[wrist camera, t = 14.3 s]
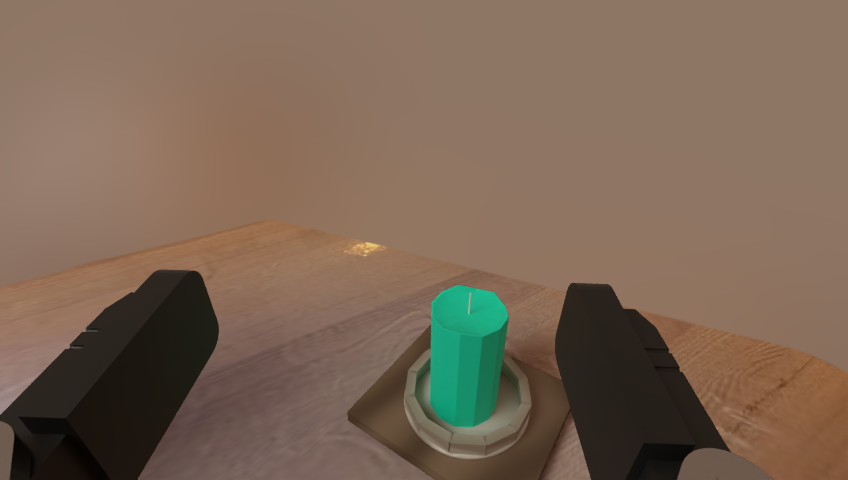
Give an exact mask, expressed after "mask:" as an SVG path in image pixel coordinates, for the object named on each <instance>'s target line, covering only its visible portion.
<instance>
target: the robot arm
mask: <svg viewBox="0 0 848 480" xmlns="http://www.w3.org/2000/svg"><path fill="white" fill-rule="evenodd" d="M218 334H219V327H218V321H217V318H216V315H215V313H214V310H213V307H212V304H211V301H210V298H209V295H208V292H207V289H206V287H205V284H204V281H203V278H202V276H201V275H200V274H199V273H198V272H197V271H187V270H157V271H155V272H154V273H153V274H152V275H151V276H150V277H149V278H148V279H147V280H146V281H145V282H144V283H143V284H142V285H141V286H140V287H139V288H138V289H137V290H136V291H135V293H133V292H131V293H129V294H128V295H126V296H125V297H123V298H122V299H120V300H118V301H117V302H115V303H114V304H112V305H110V306H109V307H107V308H106V309H104V310H103V311H102V313H101V314H100V315H99V316H98V317H97V318H96V319H95V320H94V321H93V322H92V323H91V324H90V325H89V326H88V327H87V328H86V332H82V333H81V334H80V335H79V336H78V337H77V338H76V339H75V340H74V341H73V342H72V343H71V344H70V348H69V349H65V350H64V351H63V352H62V353H61V354H60V355H59V356H58V357H57V358H56V359H55V360H54V361H53V362H52V363H51V364H50V365H49V366H48V367H47V368H46V369H45V370H44V371H43V372H42V373H41V374H40V375H39V376H38V377H37V378H36V379H35V380H34V381H33V382H32V383H31V385H30V386H29V387H28V388H27V389H26V390H25V391H24V392H23V393H22V394H21V395H20V396H19V397H18V398H17V399H16V400H15V401H14V402H13V403H12V404H11V405H10V406H9V407H8V408H7V409H6V410H5V411H4V412H3V413H2V414H1V415H0V480H137V479H138V477H139V476H140V474H141V472H142V470H143V469H144V467H145V465H146V464H147V462H148V460H149V459H150V457H151V455H152V454H153V452H154V450H155V449H156V447H157V445H158V444H159V442H160V440H161V439H162V437H163V435H164V433H165V432H166V430H167V428H168V427H169V425H170V423H171V422H172V420H173V418H174V417H175V415H176V413H177V412H178V410H179V408H180V407H181V405H182V403H183V402H184V400H185V398H186V396H187V395H188V393H189V391H190V390H191V388H192V386H193V385H194V383H195V381H196V380H197V378H198V376H199V375H200V373H201V371H202V370H203V368H204V366H205V365H206V363H207V361H208V359H209V358H210V356H211V354H212V353H213V351H214V349H215V347H216V344H217V340H218ZM555 353H556V360H557V364H558V368H559V371H560V375H561V378H562V381H563V385H564V388H565V392H566V395H567V399H568V402H569V405H570V409H571V412H572V416H573V419H574V422H575V426H576V429H577V433H578V436H579V439H580V443H581V446H582V450H583V453H584V457H585V460H586V463H587V467H588V470H589V474H590V477H591V480H774V479H773V478H772V477H770V476H769V475H768V474H767V473H766V472H765V471H763V470H762V469H761V468H759V467H758V466H756V465H755V464H753V463H752V462H750V461H748V460H747V459H745V458H743V457H741V456H739V455H737V454H734V453H731V451H730V450H729V449H728V447H727V446H726V444H725V442H724V441H723V439H722V437H721V436H720V434H719V432H718V431H717V429H716V427H715V426H714V424H713V422H712V421H711V419H710V417H709V416H708V414H707V412H706V411H705V409H704V407H703V406H702V404H701V402H700V401H699V399H698V397H697V396H696V394H695V392H694V390H693V389H692V387H691V385H690V384H689V382H688V380H687V379H686V377H685V375H684V374H683V372H680V370H679V368H680V367H679V365H678V364H677V362H676V360H675V359H674V357H673V355H672V354H671V353H669V349H668V347H667V345H666V344H665V342H664V340H663V339H662V337H661V335H660V334H659V332H658V330H657V328H656V327H655V326H654V325H652V324H651V323H650V322H649V321H648V320H647V319H646V318H644V317H643V316H642V315H641V314H640V313H639V312H638V311H636V310H635V309H623V307H622V306H621V304H620V302H619V300H618V298H617V296H616V294H615V292H614V291H613V289H612V287H611V286H610V285H608V284H585V283H571V284H570V285H569V287H568V290H567V293H566V297H565V301H564V305H563V309H562V313H561V317H560V321H559V325H558V329H557V333H556V339H555Z"/></svg>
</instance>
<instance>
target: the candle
mask: <svg viewBox="0 0 848 480" xmlns="http://www.w3.org/2000/svg"><path fill="white" fill-rule="evenodd" d="M508 319H509V317H508V313H507V310H506V307H505V306H504V304H503V303H502V302H501V300H500V299H499V298H498V297H497V295H496V294H495V293H494V292H490V291H485V290H481V289H476V288H471V287H466V286H460V285H457V286H454V287H452V288H449V289H447V290H444V291H442V292H441V293H440V294H439V295H438V296H437V297H436V298H435V300H434V301H433V302H432V308H431V364H430V405H431V407H432V408H433V410H434V411H435V413H436V415H437V416H438V418H440V419H441V420H443V421H445V422H447V423H449V424H450V425H452V426H454V427H475V426H477V425H479V424H481V423H483V422H485V421H487V420H488V419H489V418H490V416H491V414H492V412H493V411H494V409H495V407H496V402H497V395H498V388H499V381H500V374H501V367H502V360H503V354H504V347H505V340H506V333H507V326H508Z"/></svg>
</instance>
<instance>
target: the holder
mask: <svg viewBox="0 0 848 480" xmlns="http://www.w3.org/2000/svg"><path fill="white" fill-rule="evenodd" d="M430 364H431V325H430V326H429V327H428V328H427V329H426V330H425V331H424V332H423V333H422V334H421V335H420V337H419V338H418V339H417V340H416V341H415V342H414V343H413V344H412V345H411V346H410V347H409V348H408V349H407V350H406V351H405V352H404V353H403V354H402V355H401V356H400V357H399V359H398V360H397V361H396V362H395V363H394V364H393V365H392V366H391V367H390V368H389V369H388V370H387V371H386V372H385V373H384V374H383V375H382V376H381V377H380V378H379V379H378V381H377V382H376V383H375V384H374V385H373V386H372V387H371V388H370V389H369V390H368V391H367V392H366V393H365V394H364V395H363V396H362V397H361V398H360V399H359V400H358V401H357V403H356V404H355V405H354V406H353V407H352V408H351V409H350V410H349V411H348V412H347V414H348V420H349V421H350V422H351V423H353V424H354V425H356V426H357V427H359V428H360V429H362V430H363V431H365V432H366V433H367V434H369V435H370V436H372V437H373V438H375V439H376V440H378V441H379V442H381V443H382V444H384V445H385V446H387V447H388V448H389V449H391V450H392V451H394V452H395V453H397V454H398V455H400V456H401V457H403V458H404V459H406V460H407V461H409V462H410V463H411V464H413V465H414V466H416V467H417V468H419V469H420V470H422V471H423V472H425V473H426V474H428V475H429V476H431V477H432V478H433V479H435V480H539V479H540V477H541V475H542V472H543V470H544V468H545V466H546V463H547V461H548V459H549V457H550V454H551V452H552V450H553V448H554V446H555V443H556V441H557V439H558V437H559V434H560V432H561V430H562V428H563V425H564V423H565V421H566V419H567V416H568V414H569V412H570V410H571V409H570V405H569V402H568V399H567V395H566V392H565V388H564V385H563V381H562V380H560V379H558V378H555V377H553V376H551V375H549V374H547V373H545V372H543V371H541V370H538V369H536V368H534V367H532V366H530V365H528V364H526V363H523V362H521V361H519V360H517V359H515V358H513V357H511V356H508V355H507V354H505V353H504V354H503V360H502V367H501V374H500V381H499V388H498V395H497V402H496V407H495V409H494V411H493V412H492V414H491V416H490V418H489V419H488V420H487V421H485V422H483V423H481V424H479V425H477V426H475V427H454V426H452V425H450V424H449V423H447V422H445V421H443V420H441V419H440V418H438V416H437V415H436V413H435V411H434V410H433V408H432V407H431V405H430Z"/></svg>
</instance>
